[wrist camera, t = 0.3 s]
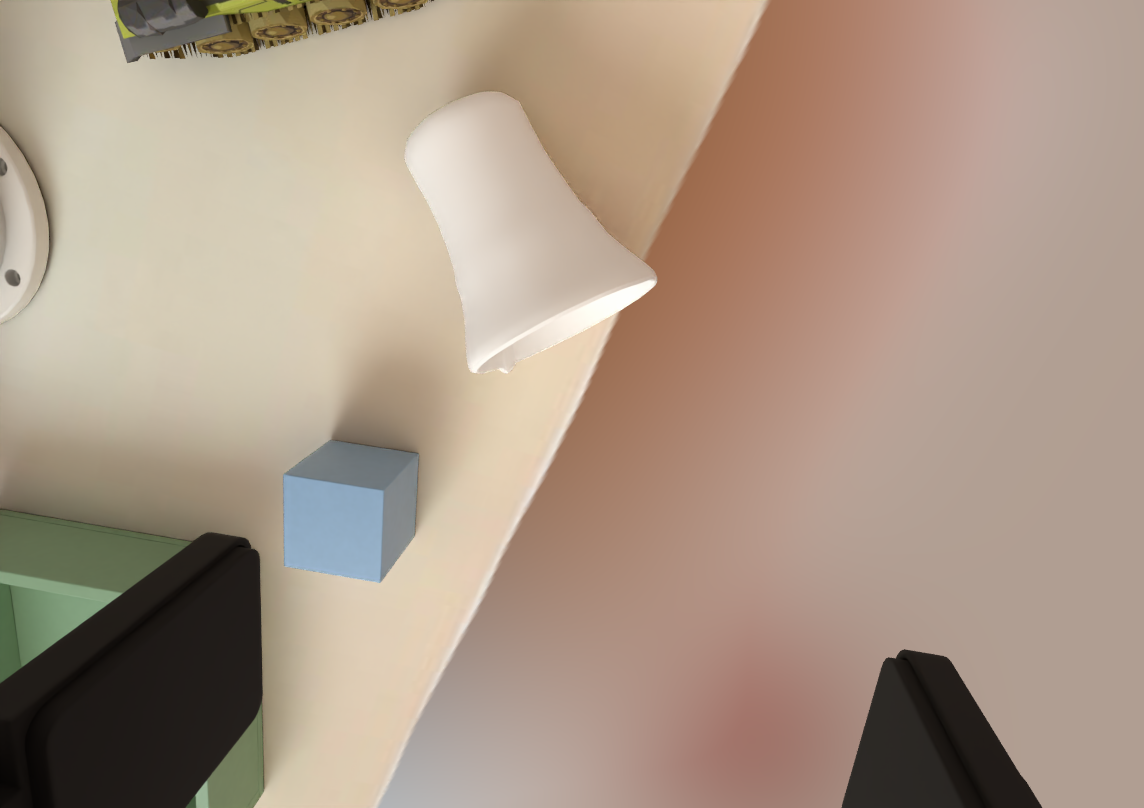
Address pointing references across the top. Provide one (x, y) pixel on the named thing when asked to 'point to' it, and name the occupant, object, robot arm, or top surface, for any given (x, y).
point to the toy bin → (76, 592)
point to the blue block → (350, 510)
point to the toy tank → (235, 23)
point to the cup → (516, 233)
